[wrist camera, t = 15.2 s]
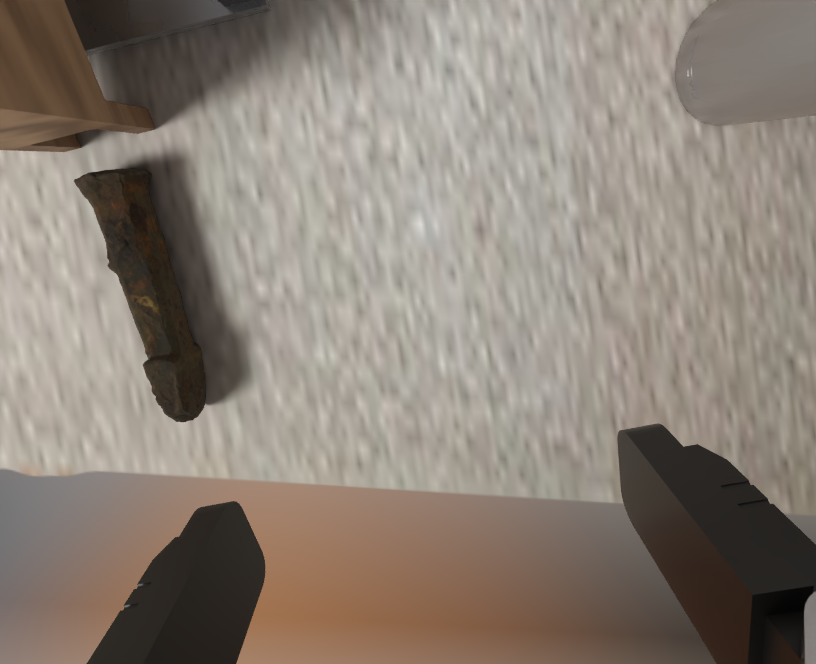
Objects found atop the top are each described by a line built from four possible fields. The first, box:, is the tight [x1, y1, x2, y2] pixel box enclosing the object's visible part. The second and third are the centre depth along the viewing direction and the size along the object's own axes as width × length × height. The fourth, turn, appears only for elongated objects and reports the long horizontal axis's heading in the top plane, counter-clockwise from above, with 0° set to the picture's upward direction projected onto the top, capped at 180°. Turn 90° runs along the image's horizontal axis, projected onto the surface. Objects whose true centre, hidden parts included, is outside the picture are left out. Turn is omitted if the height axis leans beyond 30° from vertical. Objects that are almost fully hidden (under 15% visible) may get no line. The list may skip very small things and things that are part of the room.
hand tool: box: [74, 169, 206, 422], centre depth 39 cm, size 23×5×6 cm, turn 5°
